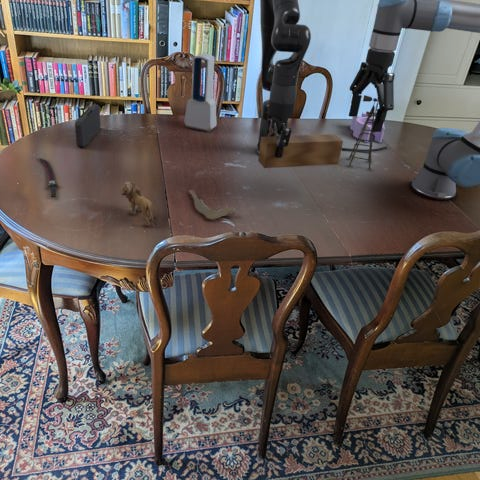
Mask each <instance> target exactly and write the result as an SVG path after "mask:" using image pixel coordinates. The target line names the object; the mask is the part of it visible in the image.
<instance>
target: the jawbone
mask: <svg viewBox="0 0 480 480" xmlns="http://www.w3.org/2000/svg"><path fill="white" fill-rule="evenodd" d="M188 192H189V195H191V196H192V199H193V204H194V208H195V210H196V211H197V212H198V213H200V214H201V215H203V216H204V217H205V219H207V220H209V221H213V220H217V219H219V218H222V217H227V218H231V215H232V212H234V213H237V212H239V210H238V209H237V208H234V207H223V208H222V209H216V210H215V209H211V207H209V206H207V205H206V204H205V203H204V199H201V198H200V199H199V198H198V195H197V193H196V191H195V190H194V189H189V190H188Z"/></svg>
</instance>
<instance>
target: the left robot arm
mask: <svg viewBox="0 0 480 480" xmlns="http://www.w3.org/2000/svg"><path fill="white" fill-rule="evenodd" d="M259 1H260V2H259V4H260V5H259V6H260V10H259V11H260V12H259V13H260V15H259V16H260V18H259V20H260V23H259V24H260V37H261V40H260V41H261V70H260V84H261V88H262V89H263V90H264V91H267V92H269V99H266V100H264V101H263V102H262V105H261V114H260V123H259V131H258V138H257V139H258V140H257V143H256V153H257V154H258V155H259V151H260V142H261V137H269V136H275V138H276V145H277V146H276V152H275V157H276V158H281V157H282V155H283V149H284V147H286V146H288V143H289V139H290V136H292V135H291V134H292V127H288V125H289V124H288V120H289V119H290V118H292V117H293V116H294V112H295V105H296V99H297V93H298V92H297V91H298V90H297V88H298V87H297V86H298V79H299V73H300V70H301V66H302V63H303V60H304V58H305V56H306V53H307V51H308V49H309V46H310V44H311V40H312V34H311V30H310V28H309V26H307V25H306V24H298V23H299V21H300V19H301V11H300V5H299V0H259ZM277 52H282V53H292V54H291V55H290V56H288V58H284V59H279V60H276V61H275V63H274V58H275V55H276V54H277ZM279 138H280V141H279ZM285 140H286V142H285ZM387 148H388V145H386V146H382V147H378V148H372V151H371V152H375V151H382V150H384V149H387ZM352 150H353V148H346V147H342V149H341V151H350V152H352ZM357 151H362V152H369V148H368V149H367V148H366V149H359V148H357Z"/></svg>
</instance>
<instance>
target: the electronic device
mask: <svg viewBox="0 0 480 480" xmlns="http://www.w3.org/2000/svg"><path fill="white" fill-rule="evenodd" d="M215 57H216V56H214V55H212V54H210V53H200V54H197V55H195V56H192V71H191V73H192V74H191V78H192V79H191V97H190V98H189V99H188V100H187V102H186V106H185V107H186V108H185V112H184V120H183V122H184V125H185V126H186V128H189V129H193V130H197V131H203V132H208V133H209V132H211V131H212V130H213V129H214V128H216V126H218V125H217V101H216V100H215V99H214V98H213V92H214V76H215V75H214V74H215V60H216V59H215ZM202 61H204V62H205V72H204V91H203V92H204V93H203V95H201V85H202V84H201V82H202V81H201V78H202Z"/></svg>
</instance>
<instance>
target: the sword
mask: <svg viewBox="0 0 480 480" xmlns="http://www.w3.org/2000/svg"><path fill="white" fill-rule="evenodd" d="M40 161H41V162H42V163H43V165H44V166H45V169H46V173H47V176H48V185H47V188H50V198H56V197H57V189H56V188H57V187H59V185H58V184H57V183H56V180H55V176H54V172H53V169H52V167H51V164H50V163H49V161H48V160H46V159H43V158H40Z"/></svg>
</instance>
